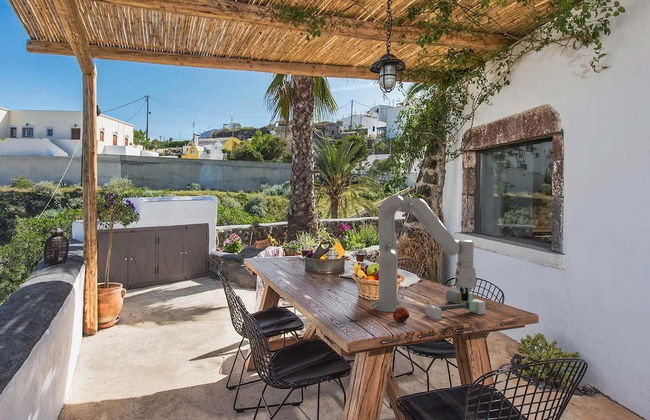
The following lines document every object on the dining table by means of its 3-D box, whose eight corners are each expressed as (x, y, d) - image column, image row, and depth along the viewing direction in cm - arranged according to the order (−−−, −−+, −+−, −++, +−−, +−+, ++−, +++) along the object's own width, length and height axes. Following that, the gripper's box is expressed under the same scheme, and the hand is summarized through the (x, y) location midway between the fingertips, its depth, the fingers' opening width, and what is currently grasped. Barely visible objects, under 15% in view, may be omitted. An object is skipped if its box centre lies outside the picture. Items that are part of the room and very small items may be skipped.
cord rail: (436, 319, 186) (436, 306, 186) (426, 314, 194) (426, 302, 194) (486, 314, 197) (486, 301, 197) (475, 309, 204) (475, 298, 204)
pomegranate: (411, 328, 180) (403, 310, 188) (414, 318, 176) (406, 300, 183) (396, 330, 179) (389, 312, 186) (398, 321, 174) (391, 303, 182)
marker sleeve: (469, 311, 196) (470, 294, 195) (464, 309, 200) (464, 292, 199) (476, 310, 197) (476, 294, 197) (470, 308, 201) (470, 292, 201)
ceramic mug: (458, 305, 213) (458, 291, 213) (445, 302, 219) (445, 288, 219) (468, 303, 219) (469, 289, 219) (455, 300, 226) (456, 287, 226)
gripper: (458, 266, 190) (457, 303, 191) (482, 265, 196) (481, 301, 196) (448, 264, 198) (447, 300, 198) (472, 262, 203) (471, 297, 203)
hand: (464, 300), depth 197 cm, fingers closed
